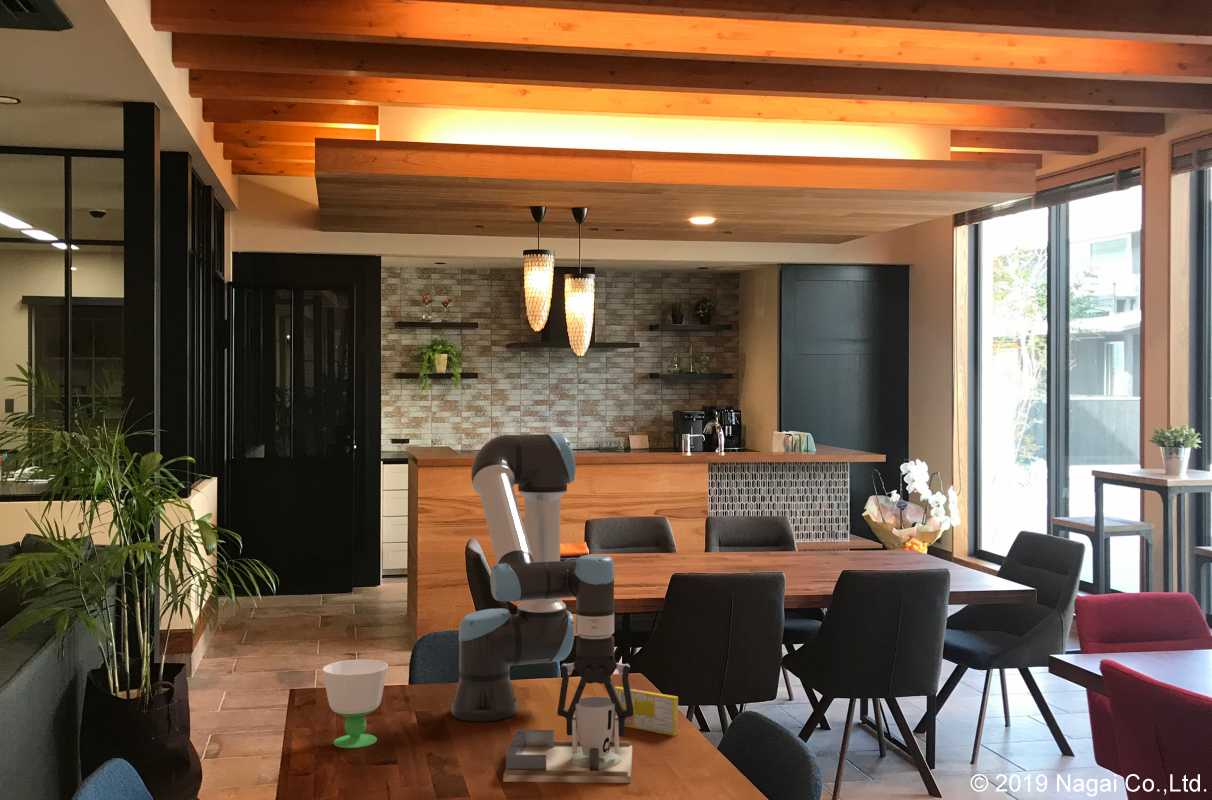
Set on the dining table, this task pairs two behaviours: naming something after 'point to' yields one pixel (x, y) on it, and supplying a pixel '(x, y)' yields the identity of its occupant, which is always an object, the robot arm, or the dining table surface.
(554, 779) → the jig
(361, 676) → the cup
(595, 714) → the cup
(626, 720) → the candy box
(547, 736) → the grey u-shaped bracket
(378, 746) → the dining table surface
